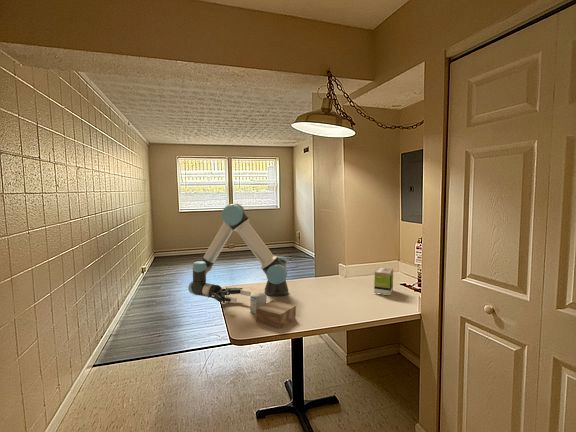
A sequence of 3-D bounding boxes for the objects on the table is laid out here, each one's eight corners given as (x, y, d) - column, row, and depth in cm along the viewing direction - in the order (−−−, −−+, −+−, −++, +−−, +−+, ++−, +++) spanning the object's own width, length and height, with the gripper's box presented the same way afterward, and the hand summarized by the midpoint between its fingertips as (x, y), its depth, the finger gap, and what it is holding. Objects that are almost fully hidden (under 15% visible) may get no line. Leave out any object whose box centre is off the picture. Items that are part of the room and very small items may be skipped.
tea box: (377, 288, 212) (378, 266, 211) (393, 290, 208) (394, 268, 207) (373, 294, 199) (374, 271, 198) (389, 296, 194) (390, 273, 193)
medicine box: (260, 308, 169) (260, 292, 169) (266, 310, 167) (266, 294, 166) (250, 312, 163) (250, 295, 163) (256, 314, 160) (256, 297, 160)
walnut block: (272, 313, 162) (272, 300, 162) (295, 319, 155) (295, 305, 155) (255, 322, 151) (256, 308, 150) (280, 329, 143) (280, 314, 143)
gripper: (225, 291, 189) (255, 297, 180) (197, 304, 167) (229, 311, 158) (226, 279, 189) (255, 284, 180) (197, 290, 166) (229, 296, 157)
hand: (243, 297), depth 169 cm, fingers open, 13 cm apart
